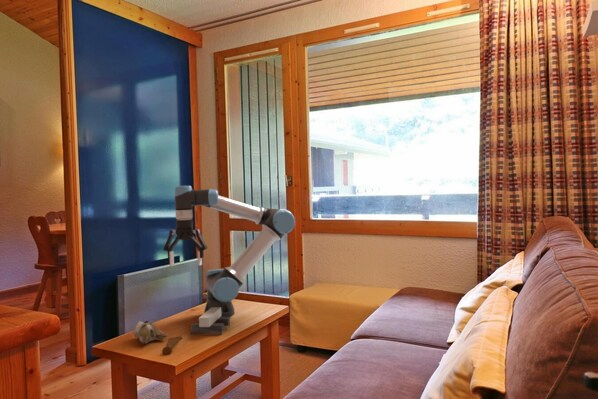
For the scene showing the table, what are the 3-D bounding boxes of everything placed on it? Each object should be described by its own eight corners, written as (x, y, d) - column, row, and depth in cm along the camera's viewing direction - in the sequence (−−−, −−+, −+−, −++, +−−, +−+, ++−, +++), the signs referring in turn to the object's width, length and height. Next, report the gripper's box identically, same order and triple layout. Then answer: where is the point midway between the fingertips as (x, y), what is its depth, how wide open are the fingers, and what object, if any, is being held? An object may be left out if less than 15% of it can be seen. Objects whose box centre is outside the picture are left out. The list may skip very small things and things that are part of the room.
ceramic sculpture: (150, 314, 182) (168, 322, 172) (150, 333, 183) (168, 342, 173) (126, 320, 174) (144, 329, 164) (127, 340, 175) (144, 350, 165)
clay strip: (212, 315, 192) (211, 307, 192) (221, 315, 192) (221, 307, 192) (199, 326, 177) (198, 317, 177) (209, 327, 176) (208, 317, 176)
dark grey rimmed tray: (201, 325, 191) (200, 316, 191) (230, 325, 189) (229, 317, 189) (191, 334, 179) (190, 325, 179) (221, 334, 177) (221, 325, 177)
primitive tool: (169, 339, 176) (169, 330, 176) (182, 338, 177) (182, 329, 177) (161, 356, 157) (161, 347, 157) (176, 355, 158) (176, 346, 158)
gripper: (154, 220, 186) (156, 267, 186) (207, 219, 183) (209, 266, 183) (162, 219, 193) (164, 264, 194) (213, 218, 190) (214, 263, 190)
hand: (186, 265), depth 188 cm, fingers open, 13 cm apart
